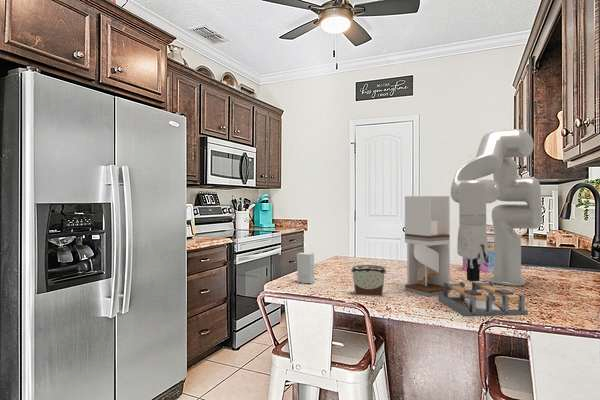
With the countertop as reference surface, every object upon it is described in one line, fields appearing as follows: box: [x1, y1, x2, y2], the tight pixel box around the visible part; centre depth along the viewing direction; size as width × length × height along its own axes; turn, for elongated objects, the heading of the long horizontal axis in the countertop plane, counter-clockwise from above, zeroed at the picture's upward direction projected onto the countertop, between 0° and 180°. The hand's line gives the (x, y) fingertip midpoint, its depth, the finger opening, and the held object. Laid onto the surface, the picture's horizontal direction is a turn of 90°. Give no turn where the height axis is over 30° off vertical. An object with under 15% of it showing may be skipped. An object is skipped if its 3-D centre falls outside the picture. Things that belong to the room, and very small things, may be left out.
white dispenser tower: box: [404, 195, 451, 298], centre depth 142 cm, size 11×11×35 cm
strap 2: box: [476, 282, 520, 301], centre depth 123 cm, size 18×4×2 cm, turn 5°
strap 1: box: [448, 282, 487, 301], centre depth 122 cm, size 18×4×2 cm, turn 5°
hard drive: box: [463, 298, 501, 311], centre depth 122 cm, size 2×8×12 cm
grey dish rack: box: [437, 281, 529, 317], centre depth 122 cm, size 18×19×6 cm
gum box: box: [462, 241, 494, 273], centre depth 182 cm, size 24×8×14 cm, turn 70°
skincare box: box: [296, 252, 316, 285], centre depth 158 cm, size 6×4×12 cm
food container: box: [350, 264, 387, 297], centre depth 140 cm, size 12×6×10 cm, turn 78°
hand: (473, 280), depth 118 cm, fingers closed
